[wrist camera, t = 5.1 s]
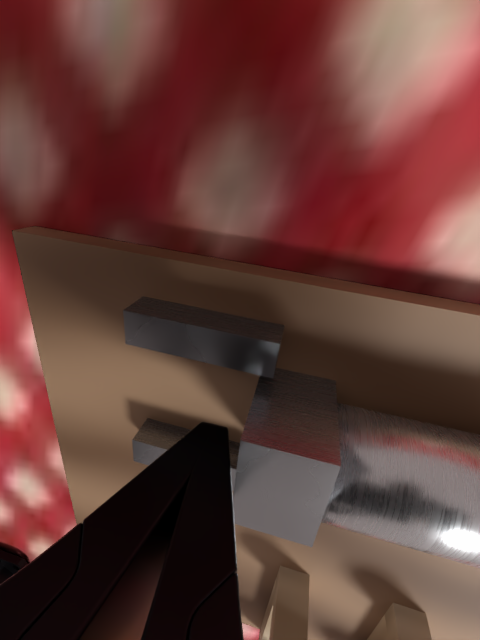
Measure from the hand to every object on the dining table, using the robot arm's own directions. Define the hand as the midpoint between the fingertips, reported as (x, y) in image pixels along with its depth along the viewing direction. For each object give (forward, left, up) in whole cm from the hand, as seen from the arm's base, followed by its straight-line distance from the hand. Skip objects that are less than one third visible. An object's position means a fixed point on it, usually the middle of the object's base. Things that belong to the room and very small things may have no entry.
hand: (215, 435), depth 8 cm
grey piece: (0, -5, -2) cm, 5 cm away
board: (-5, -2, -3) cm, 6 cm away
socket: (0, +1, -2) cm, 2 cm away
